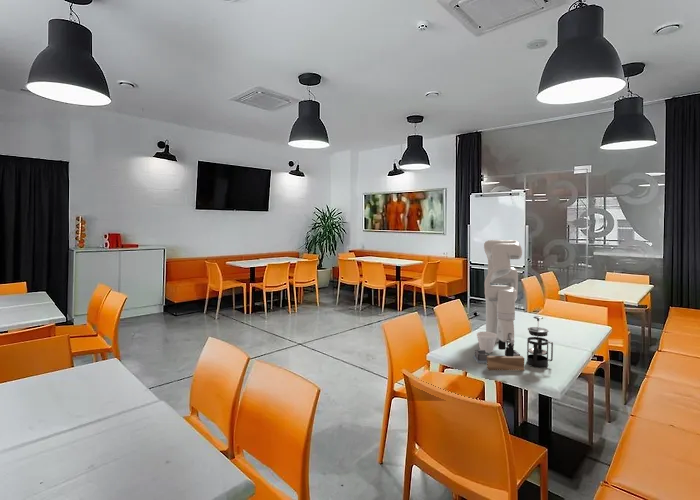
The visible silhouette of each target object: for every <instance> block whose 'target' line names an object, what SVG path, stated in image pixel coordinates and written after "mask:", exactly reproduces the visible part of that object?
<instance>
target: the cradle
mask: <svg viewBox="0 0 700 500" xmlns="http://www.w3.org/2000/svg"><path fill="white" fill-rule="evenodd" d="M489 354H490V353H485V350H480V349H475V350H474V354H473V355H472V358H473V359H474V361H475V362H476V363H477V364H487V356H506V349H505V350H504V354H502V355H500V354H499V355H497V354H496V355H495V354H493V355H489ZM513 356H521V353H520V352H518V351H517V350H515V349H514V353H513Z"/></svg>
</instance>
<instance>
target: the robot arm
mask: <svg viewBox="0 0 700 500" xmlns="http://www.w3.org/2000/svg"><path fill="white" fill-rule="evenodd" d="M483 249H484V252H485V255H486V257H487V275H486V277H485V279H484V284H483V285H484V298H485V310H486V311H485V332H492V333H495V334H496V335H497V338H496V342H495V343H498V347H497V349H498V350H501V351H502V350H504V351H505V350H506V356H513V353H514V350H515V349H514V348H515V347H514V346H515V324H514V321H515V320H516V301H517V299H518V291H519V290H518V287H519V271H518V270H517V268H515V267H512V265H511V260H520V259H521V258H522V255H523V249H522V245H521V244H520V243H519V241H518V240H515V239H489V240H486V241H485V242H484V243H483Z"/></svg>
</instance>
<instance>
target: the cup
mask: <svg viewBox="0 0 700 500" xmlns="http://www.w3.org/2000/svg"><path fill="white" fill-rule="evenodd" d="M476 338H477V341H478V346H479V350H485V354H491V353H493V352H494V349H495V345H496V343H497V342H496V338H497V335H496V334H495V333H492V332H486V331H478V332H477V333H476Z"/></svg>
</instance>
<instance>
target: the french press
mask: <svg viewBox="0 0 700 500" xmlns="http://www.w3.org/2000/svg"><path fill="white" fill-rule="evenodd" d="M533 318H534V319H536V321H537V326H532V327H527V331H528V333H529V335H531V336H530V337H528V338H527V340H526V341H527V342H526V345H527V349H526V350H527V351H526V354H527V355H526V359H527V360H526V365H528V366H530V367H534V368H538V369H539V368H540V369H545V368H548V367H549V362H552V361H553V359H554V358H553V357H554V343H553V341H549V339H547V338H545V337H547V336H548V332H549V329H547V328H544V327H539V325H540V323H539V322H540V320H543V319H544V317H542V316H537V315H536V316H533ZM533 340H535V341H533ZM536 340H537V341H536ZM530 344H531V345H533V348H529V347H530ZM549 344H551V347H550V348H551V350H550V351H551V353H550V354H551V355H550V356H551V357H550V359H549ZM542 346H546V349H543V347H542Z"/></svg>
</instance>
